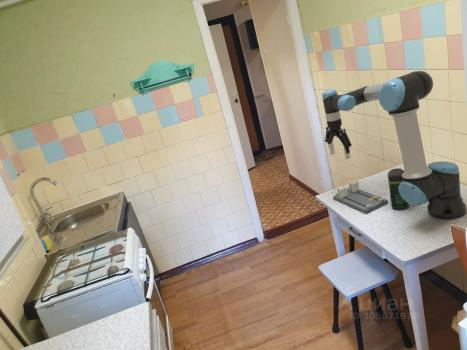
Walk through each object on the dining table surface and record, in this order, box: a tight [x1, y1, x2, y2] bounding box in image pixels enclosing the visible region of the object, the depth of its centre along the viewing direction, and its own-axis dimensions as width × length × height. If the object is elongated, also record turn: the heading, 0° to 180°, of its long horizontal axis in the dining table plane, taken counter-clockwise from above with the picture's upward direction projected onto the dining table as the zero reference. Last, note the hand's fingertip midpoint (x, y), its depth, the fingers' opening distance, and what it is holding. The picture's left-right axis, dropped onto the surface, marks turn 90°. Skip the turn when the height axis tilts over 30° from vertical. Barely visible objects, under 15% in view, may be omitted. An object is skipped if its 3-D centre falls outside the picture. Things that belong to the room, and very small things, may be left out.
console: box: [332, 187, 389, 215], centre depth 198 cm, size 26×14×3 cm, turn 22°
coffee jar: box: [387, 167, 410, 211], centre depth 181 cm, size 10×8×19 cm
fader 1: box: [336, 185, 348, 198], centre depth 203 cm, size 3×4×5 cm
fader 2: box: [348, 179, 361, 193], centre depth 205 cm, size 3×4×5 cm
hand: (340, 156), depth 207 cm, fingers open, 12 cm apart
